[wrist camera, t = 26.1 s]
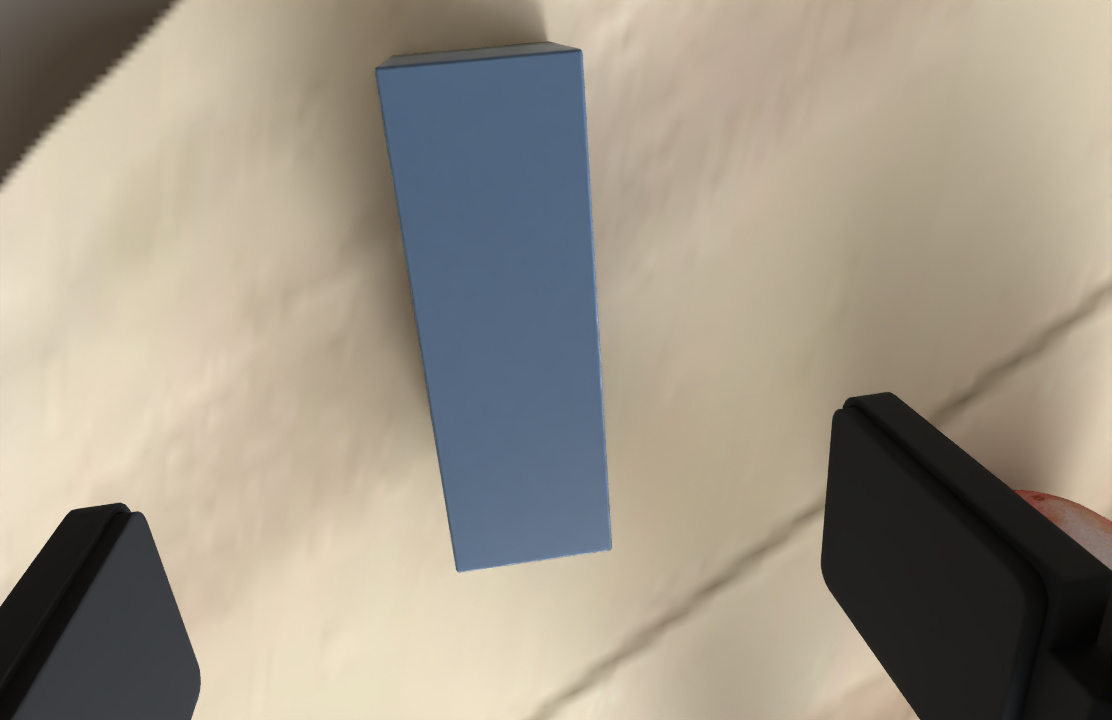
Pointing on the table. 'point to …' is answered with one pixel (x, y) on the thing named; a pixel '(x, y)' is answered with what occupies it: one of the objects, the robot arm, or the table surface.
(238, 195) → the table surface
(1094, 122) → the table surface
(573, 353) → the blue rectangular block
